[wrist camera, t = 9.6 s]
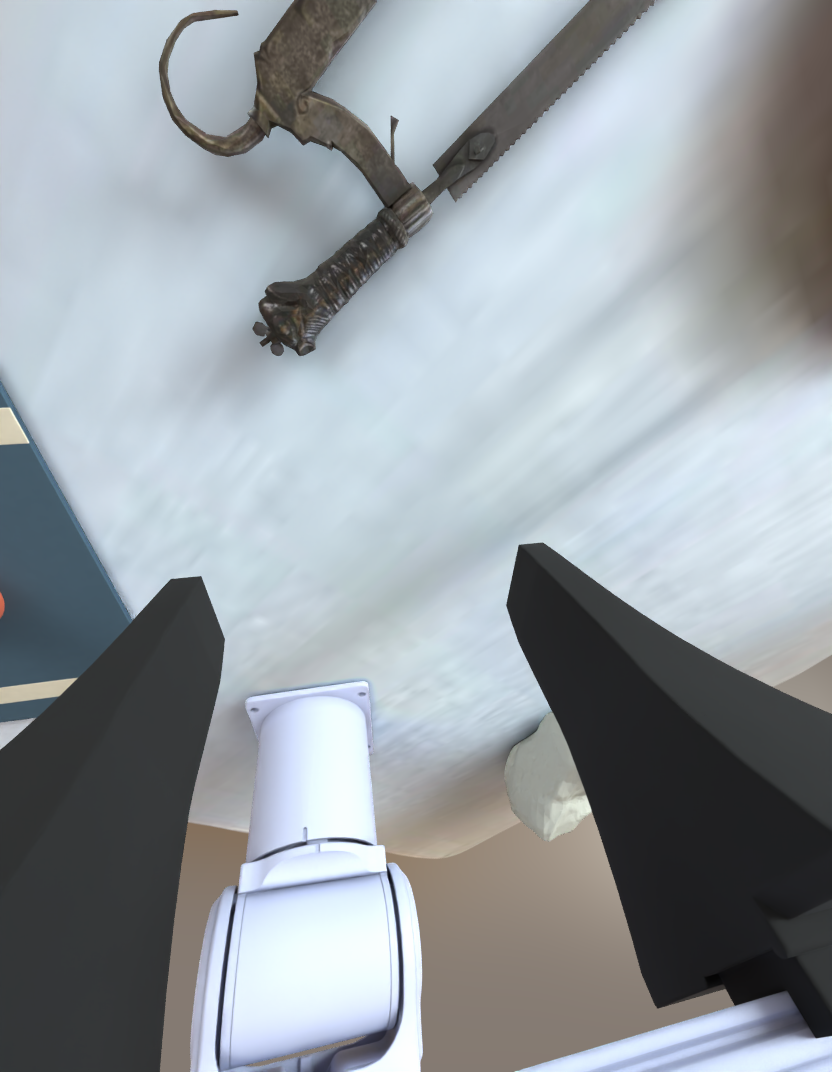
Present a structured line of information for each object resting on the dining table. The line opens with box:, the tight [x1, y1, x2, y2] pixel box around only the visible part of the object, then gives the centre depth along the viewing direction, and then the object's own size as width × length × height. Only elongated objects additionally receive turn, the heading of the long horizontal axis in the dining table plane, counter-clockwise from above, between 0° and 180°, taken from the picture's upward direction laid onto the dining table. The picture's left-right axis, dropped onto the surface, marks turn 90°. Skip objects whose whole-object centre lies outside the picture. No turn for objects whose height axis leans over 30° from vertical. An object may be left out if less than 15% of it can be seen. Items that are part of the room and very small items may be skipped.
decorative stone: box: [505, 712, 592, 842], centre depth 36 cm, size 11×9×10 cm
